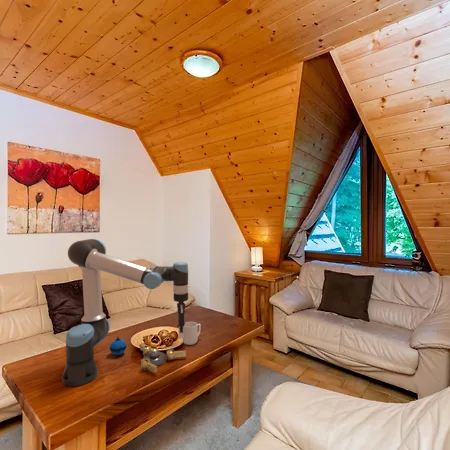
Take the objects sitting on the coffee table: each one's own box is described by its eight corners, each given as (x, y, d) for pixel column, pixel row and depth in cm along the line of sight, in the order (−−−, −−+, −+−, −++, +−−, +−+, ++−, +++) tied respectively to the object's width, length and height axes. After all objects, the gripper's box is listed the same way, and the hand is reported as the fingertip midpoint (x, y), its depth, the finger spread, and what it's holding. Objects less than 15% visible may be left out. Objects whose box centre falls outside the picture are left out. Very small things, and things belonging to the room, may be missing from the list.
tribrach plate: (142, 368, 143) (142, 356, 143) (143, 357, 154) (143, 346, 154) (165, 365, 145) (165, 353, 145) (165, 355, 157) (165, 344, 157)
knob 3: (166, 360, 149) (166, 352, 149) (166, 356, 153) (166, 349, 153) (186, 358, 151) (186, 350, 151) (185, 354, 156) (185, 347, 155)
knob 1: (152, 353, 156) (152, 346, 156) (145, 356, 153) (145, 349, 153) (144, 347, 164) (144, 340, 163) (136, 350, 161) (136, 343, 160)
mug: (188, 347, 167) (188, 328, 167) (180, 342, 173) (180, 324, 173) (204, 341, 175) (204, 323, 174) (196, 336, 181) (196, 319, 181)
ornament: (109, 352, 160) (109, 335, 159) (125, 349, 163) (125, 332, 163) (109, 359, 152) (109, 341, 151) (126, 356, 155) (126, 338, 155)
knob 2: (139, 368, 141) (139, 360, 141) (146, 364, 145) (146, 356, 145) (152, 374, 135) (152, 366, 135) (159, 370, 139) (159, 362, 139)
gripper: (189, 295, 140) (189, 342, 141) (187, 289, 153) (187, 332, 153) (174, 296, 139) (174, 344, 139) (173, 289, 151) (173, 333, 152)
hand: (181, 337), depth 146 cm, fingers closed
